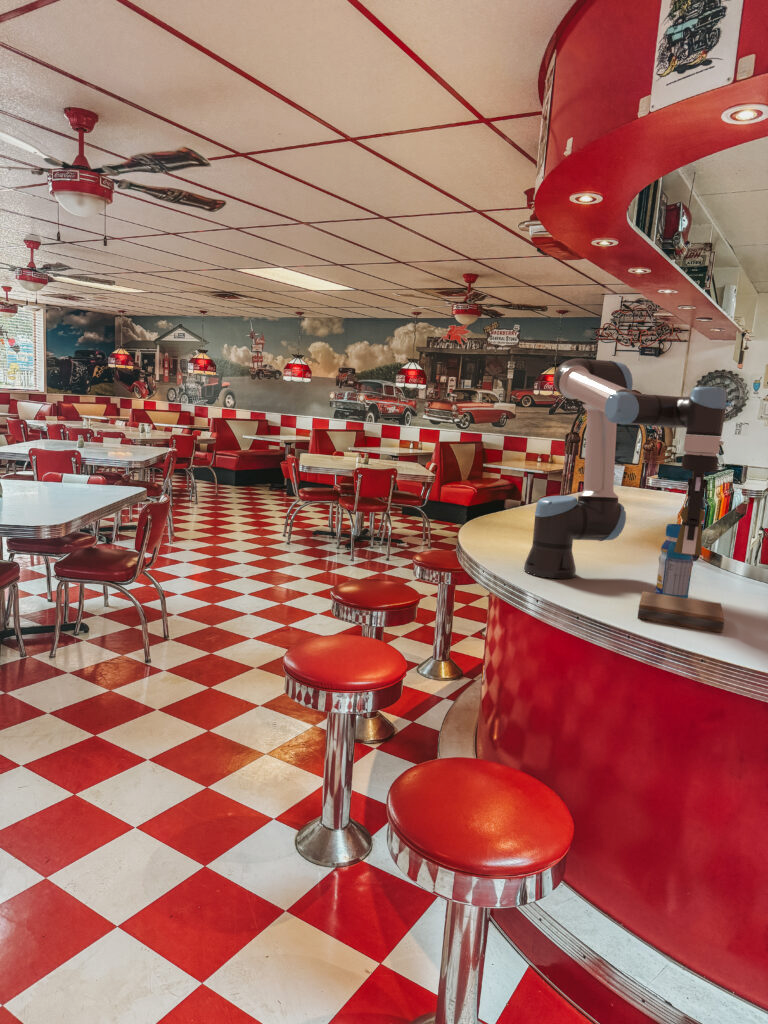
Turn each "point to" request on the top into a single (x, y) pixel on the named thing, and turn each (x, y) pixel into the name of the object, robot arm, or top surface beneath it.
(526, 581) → the top surface
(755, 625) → the top surface
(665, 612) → the wooden block
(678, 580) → the beverage bottle
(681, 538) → the cork
